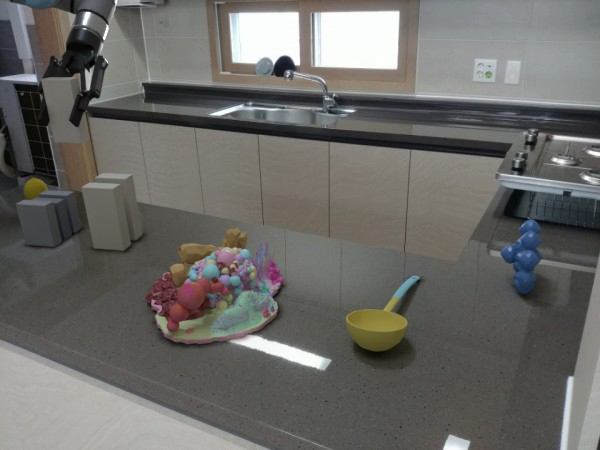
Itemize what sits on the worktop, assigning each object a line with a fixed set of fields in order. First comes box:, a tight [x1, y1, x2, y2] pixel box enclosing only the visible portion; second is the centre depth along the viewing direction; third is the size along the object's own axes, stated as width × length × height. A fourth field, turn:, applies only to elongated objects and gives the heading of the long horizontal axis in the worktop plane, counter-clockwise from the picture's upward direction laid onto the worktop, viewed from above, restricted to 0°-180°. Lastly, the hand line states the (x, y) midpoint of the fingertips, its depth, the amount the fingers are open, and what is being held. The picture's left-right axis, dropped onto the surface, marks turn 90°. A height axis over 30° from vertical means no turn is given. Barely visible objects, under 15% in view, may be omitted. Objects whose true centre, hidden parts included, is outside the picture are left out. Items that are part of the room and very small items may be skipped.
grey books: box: [15, 189, 82, 248], centre depth 117 cm, size 10×7×9 cm
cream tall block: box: [40, 76, 90, 145], centre depth 119 cm, size 3×7×14 cm, turn 77°
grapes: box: [499, 218, 544, 295], centre depth 91 cm, size 12×7×12 cm, turn 160°
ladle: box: [345, 275, 421, 352], centre depth 85 cm, size 9×26×6 cm, turn 153°
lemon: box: [23, 177, 49, 200], centre depth 133 cm, size 6×6×8 cm
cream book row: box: [81, 172, 143, 252], centre depth 112 cm, size 8×7×14 cm
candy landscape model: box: [145, 227, 285, 345], centre depth 90 cm, size 25×24×9 cm
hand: (58, 123), depth 116 cm, fingers closed on cream tall block, 7 cm apart
